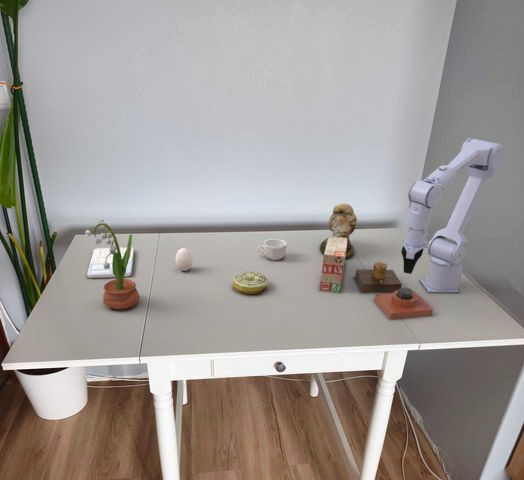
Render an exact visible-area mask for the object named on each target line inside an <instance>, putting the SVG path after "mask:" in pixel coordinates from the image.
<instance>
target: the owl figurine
mask: <svg viewBox="0 0 524 480" xmlns="http://www.w3.org/2000/svg"><path fill="white" fill-rule="evenodd" d="M357 220H358V218H357V215H356V214H355V210H354V208H353V206H351V204H350V203H349V204H348V203H340V204H336V205H334V206H333V208H332V213H331V215H330V217H329V220H328V229H329V231H330V232H332V237H340V238H347V249H346V256H345V261H346V260H349V259H351V258H352V257H353V256H354V253H355V249H354V246H353V244H352V243H351V240H350V235H352V234H353V233H354V231H355V229H357ZM328 238H329V237H327V238H325V239H324V240H323V241H322V242H321V244H320V251H321V253H322V254H323V255H324V252H325V249H326V246H327V240H328Z"/></svg>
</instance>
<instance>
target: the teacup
mask: <svg viewBox="0 0 524 480" xmlns="http://www.w3.org/2000/svg"><path fill="white" fill-rule="evenodd" d="M287 247H288V242H287V241H286V240H284V239H281V238H268V239H265V240H264V241H263V245H260V246H258V247H257V252H258V253H259V254H261V255H264V256H265V257H266V258H267V259H268V260H271V261H279V260H281V259H282V258H284V257H285V254H286V252H287ZM260 249H262V250H263V252H262V251H260Z"/></svg>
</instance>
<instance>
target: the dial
mask: <svg viewBox="0 0 524 480" xmlns="http://www.w3.org/2000/svg"><path fill="white" fill-rule="evenodd" d="M372 270H373V273H372V277H373V278H375V279H384V278H385V275H386V270H388V265H387V263H385V262H381V261H377V262H374V264H373V268H372Z"/></svg>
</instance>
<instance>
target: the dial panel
mask: <svg viewBox="0 0 524 480" xmlns="http://www.w3.org/2000/svg"><path fill="white" fill-rule="evenodd" d="M372 273H373V269H356V270H355V273H354V274H355V275H354V279H355V281H356V283H357V285H358V288H359V290H360V292H361V293H362V294H388V293H393V292H395V291H397V290H399V289H400V288H402V286H403V285H402V282H401V280H400V279H399V276H397V274H396V273H395V270H394V269H386V275H385V278H384V279H375V278H373V277H372Z"/></svg>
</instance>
